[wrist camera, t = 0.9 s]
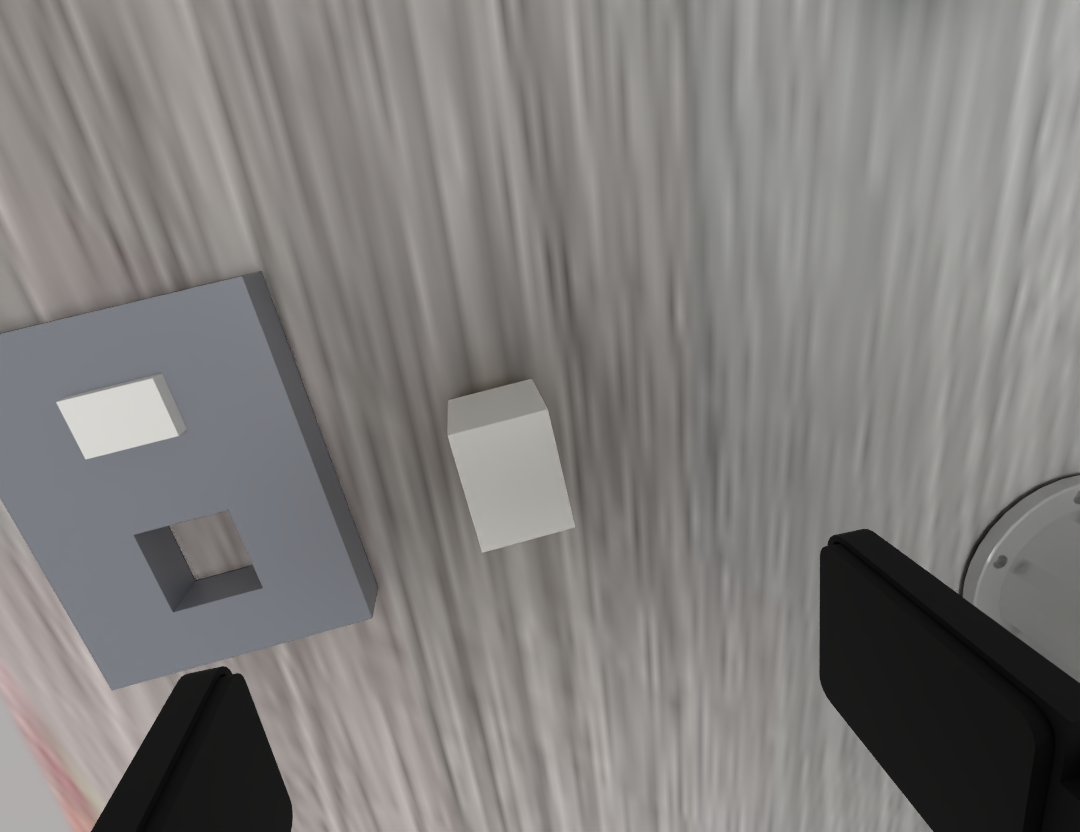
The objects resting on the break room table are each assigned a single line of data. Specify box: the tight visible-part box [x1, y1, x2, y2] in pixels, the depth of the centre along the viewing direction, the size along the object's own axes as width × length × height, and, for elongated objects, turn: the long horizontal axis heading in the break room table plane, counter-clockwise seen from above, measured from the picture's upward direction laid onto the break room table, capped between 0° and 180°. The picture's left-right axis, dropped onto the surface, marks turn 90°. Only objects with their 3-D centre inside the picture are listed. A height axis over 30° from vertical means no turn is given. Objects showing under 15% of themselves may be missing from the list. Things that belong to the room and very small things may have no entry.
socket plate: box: [0, 271, 378, 690], centre depth 26 cm, size 16×12×3 cm
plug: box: [447, 379, 575, 553], centre depth 26 cm, size 5×4×7 cm
